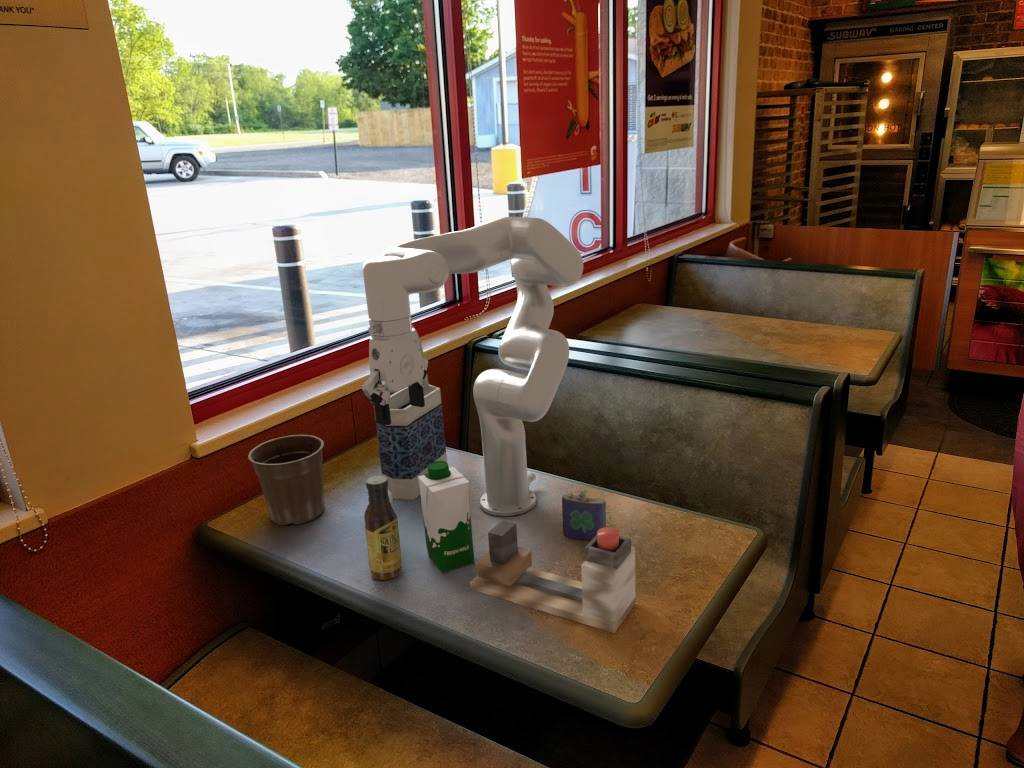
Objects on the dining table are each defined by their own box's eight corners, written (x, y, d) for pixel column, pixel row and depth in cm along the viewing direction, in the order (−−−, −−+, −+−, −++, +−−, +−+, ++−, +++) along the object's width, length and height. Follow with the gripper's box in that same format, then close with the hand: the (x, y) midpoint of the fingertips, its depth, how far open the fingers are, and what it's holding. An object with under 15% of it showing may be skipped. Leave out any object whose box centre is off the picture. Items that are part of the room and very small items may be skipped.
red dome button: (593, 550, 128) (593, 535, 127) (602, 539, 130) (602, 525, 129) (613, 555, 126) (613, 540, 125) (622, 544, 129) (622, 529, 128)
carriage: (477, 576, 141) (474, 533, 138) (500, 555, 147) (497, 513, 144) (510, 586, 137) (507, 542, 134) (532, 564, 144) (529, 521, 141)
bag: (422, 464, 195) (405, 312, 182) (451, 469, 191) (436, 314, 178) (380, 496, 180) (358, 332, 167) (411, 502, 176) (391, 335, 163)
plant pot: (245, 520, 173) (232, 455, 168) (300, 490, 185) (289, 429, 180) (294, 537, 164) (282, 469, 159) (348, 505, 177) (338, 441, 171)
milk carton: (462, 543, 157) (454, 455, 151) (481, 564, 150) (473, 471, 143) (422, 556, 154) (412, 466, 147) (439, 578, 146) (429, 484, 139)
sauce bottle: (388, 585, 145) (376, 491, 138) (363, 576, 148) (350, 484, 142) (410, 567, 150) (399, 476, 144) (386, 560, 153) (374, 470, 147)
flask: (608, 537, 156) (606, 490, 153) (604, 544, 154) (602, 497, 150) (565, 531, 160) (562, 485, 156) (560, 538, 157) (558, 491, 154)
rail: (470, 589, 142) (464, 522, 137) (496, 564, 149) (491, 500, 145) (614, 633, 127) (613, 560, 123) (635, 604, 135) (634, 534, 130)
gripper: (373, 340, 129) (385, 434, 134) (436, 316, 142) (445, 402, 148) (341, 336, 133) (354, 427, 138) (405, 313, 146) (415, 397, 152)
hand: (401, 414), depth 143 cm, fingers open, 9 cm apart
